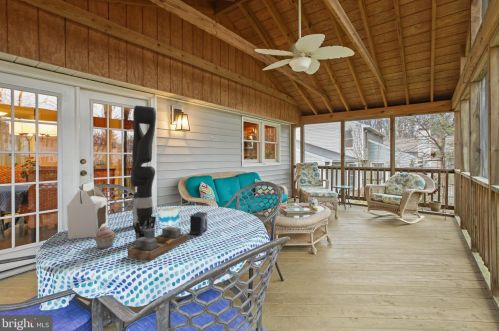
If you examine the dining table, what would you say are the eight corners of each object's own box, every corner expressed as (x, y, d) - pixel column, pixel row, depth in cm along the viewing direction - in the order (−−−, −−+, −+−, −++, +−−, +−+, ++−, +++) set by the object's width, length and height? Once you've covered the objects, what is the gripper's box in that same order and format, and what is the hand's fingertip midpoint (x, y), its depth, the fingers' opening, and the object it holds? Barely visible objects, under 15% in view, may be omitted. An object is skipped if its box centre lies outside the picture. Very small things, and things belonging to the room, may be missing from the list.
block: (135, 241, 133) (135, 229, 133) (142, 238, 137) (142, 227, 137) (148, 243, 130) (148, 231, 130) (154, 240, 135) (154, 228, 134)
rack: (127, 257, 113) (127, 241, 113) (167, 238, 138) (167, 225, 138) (150, 261, 109) (150, 244, 108) (187, 241, 134) (187, 227, 133)
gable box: (83, 227, 158) (82, 180, 157) (108, 226, 161) (106, 180, 160) (67, 239, 136) (65, 185, 135) (95, 237, 140) (94, 184, 138)
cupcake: (114, 248, 123) (113, 227, 122) (91, 251, 120) (91, 229, 120) (118, 242, 132) (117, 222, 131) (97, 244, 129) (96, 224, 129)
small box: (201, 235, 142) (200, 216, 142) (189, 235, 144) (189, 215, 143) (207, 230, 153) (207, 212, 152) (197, 229, 154) (197, 211, 154)
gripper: (148, 202, 141) (149, 234, 142) (127, 208, 128) (128, 242, 129) (160, 203, 138) (160, 236, 139) (140, 209, 125) (140, 244, 126)
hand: (145, 239), depth 134 cm, fingers closed on block, 4 cm apart
